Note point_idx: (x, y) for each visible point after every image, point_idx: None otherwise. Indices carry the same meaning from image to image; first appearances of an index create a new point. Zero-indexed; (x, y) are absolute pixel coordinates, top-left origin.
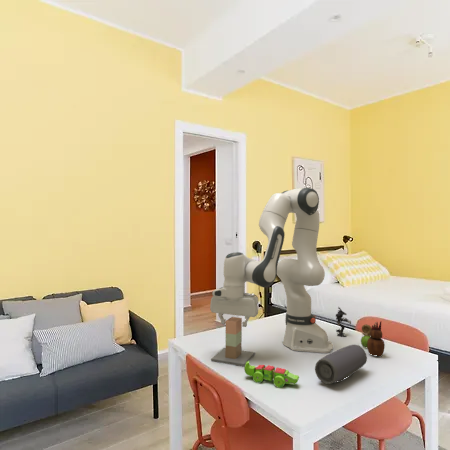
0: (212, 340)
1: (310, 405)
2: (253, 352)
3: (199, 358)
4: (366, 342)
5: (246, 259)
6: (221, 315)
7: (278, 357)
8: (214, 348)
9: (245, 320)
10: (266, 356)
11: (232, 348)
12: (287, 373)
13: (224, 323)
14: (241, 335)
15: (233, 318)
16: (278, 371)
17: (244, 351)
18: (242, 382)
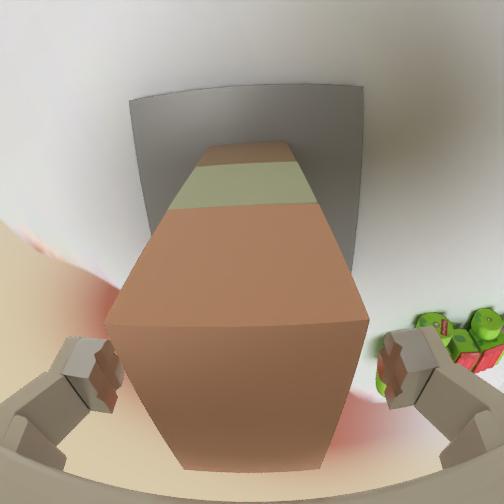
0: (17, 21)
1: (500, 371)
2: (358, 96)
3: (102, 274)
4: None
5: None
6: (63, 459)
7: (480, 96)
8: (76, 114)
9: (439, 429)
10: (428, 97)
11: None
12: (501, 356)
13: (119, 369)
14: (305, 182)
15: (206, 398)
16: (481, 370)
17: (294, 100)
18: (364, 373)
